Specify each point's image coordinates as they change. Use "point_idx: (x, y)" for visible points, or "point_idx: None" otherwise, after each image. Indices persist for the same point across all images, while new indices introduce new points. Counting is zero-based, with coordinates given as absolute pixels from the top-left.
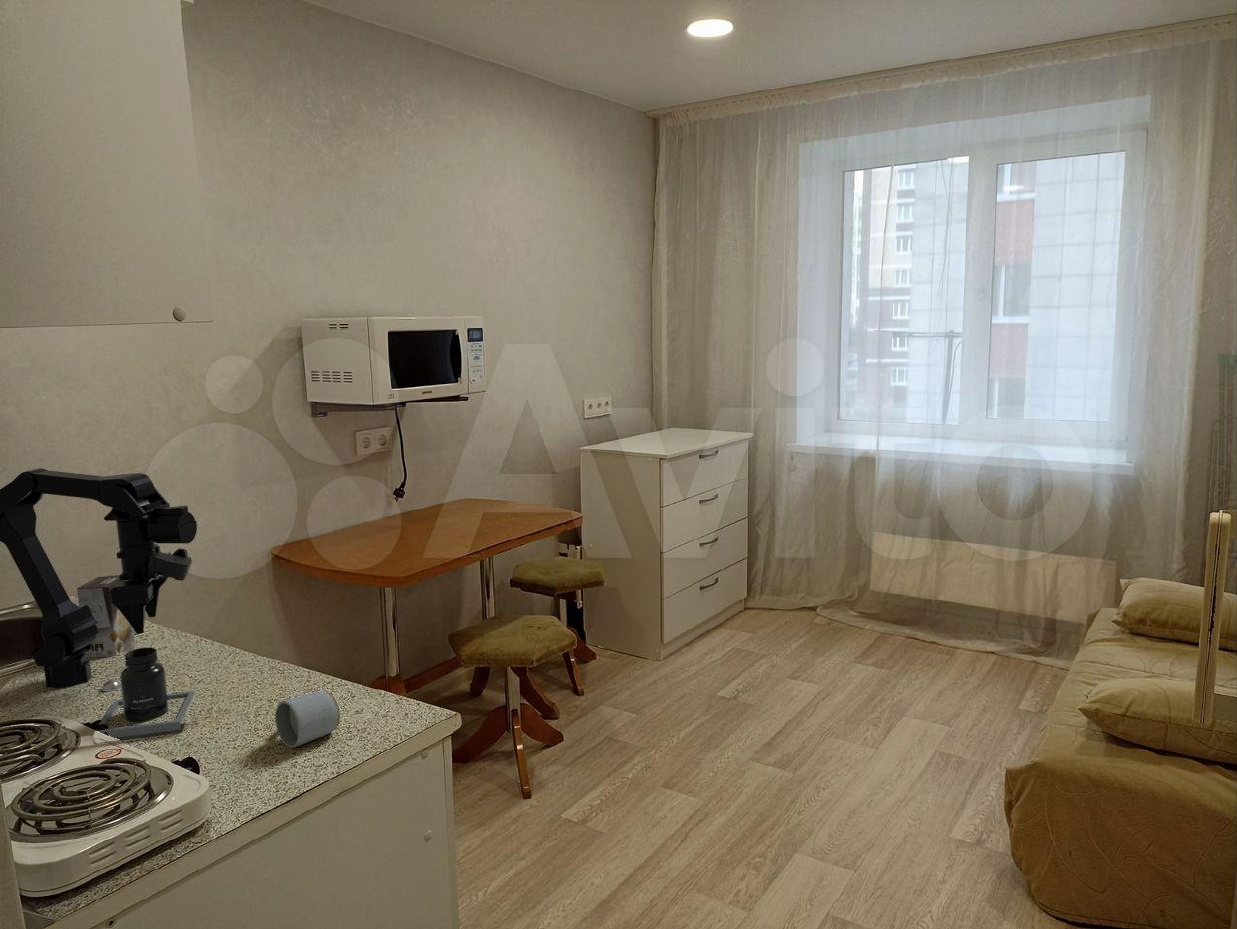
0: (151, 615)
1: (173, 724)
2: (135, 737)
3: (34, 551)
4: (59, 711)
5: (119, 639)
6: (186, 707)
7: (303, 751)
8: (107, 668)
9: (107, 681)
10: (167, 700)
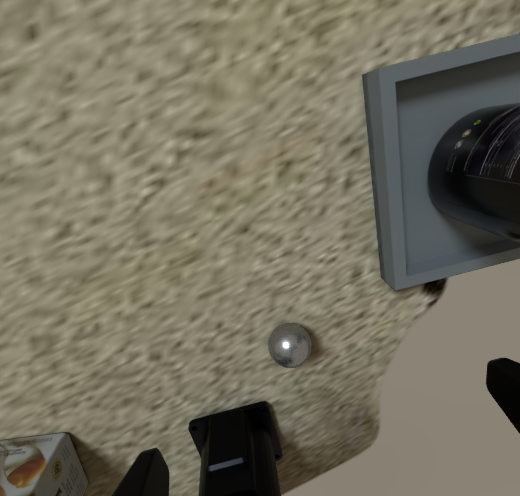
0: (164, 473)
1: None
2: None
3: None
4: (355, 390)
5: (4, 492)
6: (516, 34)
7: None
8: (109, 429)
9: (295, 365)
10: (510, 105)
